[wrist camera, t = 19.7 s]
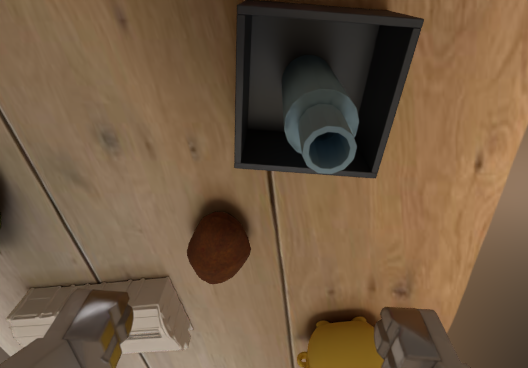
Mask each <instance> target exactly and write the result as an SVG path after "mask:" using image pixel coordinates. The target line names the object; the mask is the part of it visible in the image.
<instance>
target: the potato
mask: <svg viewBox="0 0 528 368" xmlns="http://www.w3.org/2000/svg"><path fill="white" fill-rule="evenodd" d="M250 251H251V247H250V244H249V240H248V237H247V234H246V232H245V230H244V228H243V227H242V225H241V223H240V222H239V221H238V220H237V219H235V218H234V217H233V216H231V215H230V214H228V213H225V212H213V213H211V214H209V215H207V216H205V217H203V219H202V220H201V222H200V223H199V224H198V226H197V228H196V230H195V232H194V234H193V236H192V238H191V240H190V242H189V245H188V249H187V256H188V259H189V262H190V264H191V265H192V267H193V269H194V270H195V272H196V274H197V275H198V276H199V278H201V279H202V280H204V281H206V282H208V283H210V284H218V283H222V282H225V281H226V280H228V279H230V278H232V277H233V276H234V275H235V274H236V273H237V272H238V271H239V270H240V268H241V267H242V266H243V264H244V263H245V261H246V260H247V258H248V257H249V255H250Z"/></svg>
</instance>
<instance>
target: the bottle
mask: <svg viewBox="0 0 528 368" xmlns="http://www.w3.org/2000/svg"><path fill="white" fill-rule="evenodd" d="M282 100H283V118H284V131H285V134H286V137H287V140H288V143H289V144H290V145H291V146H292V147H293V148H294V149H295V150H296V151H297V152H298V153H300V154H302V156H303V159H304V161H305V163H306V165H307V166H308V167H309V168H311V169H312V170H314V171H315V172H317V173H323V174H333V173H336V172H338V171H341V170H344V169H345V168H346V167H347V166H348V165H349V164H350V163H351V162H352V161H353V159H354V157H355V153H356V149H357V145H356V142H355V139H354V137H355V135H356V132H357V128H358V124H359V118H358V113H357V108H356V106H355V105H354V103H353V102H352V100H351V99H350V97H349V95H348V94H347V92H346V91H345V89H344V88H343V86H342V85H341V83H340V82H339V80H338V79H337V77H336V76H335V74H334V72H333V71H332V69H331V68H330V67H329V65H328V64H327V63H326V62H325V61H324V60H323V59H321V58H320V57H317V56H314V55H304V56H300V57H298V58H296V59H294V60H293V61H292V62H291V63H290V64H289V65H288V66H287V67H286V69H285V71H284V74H283V77H282Z"/></svg>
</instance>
